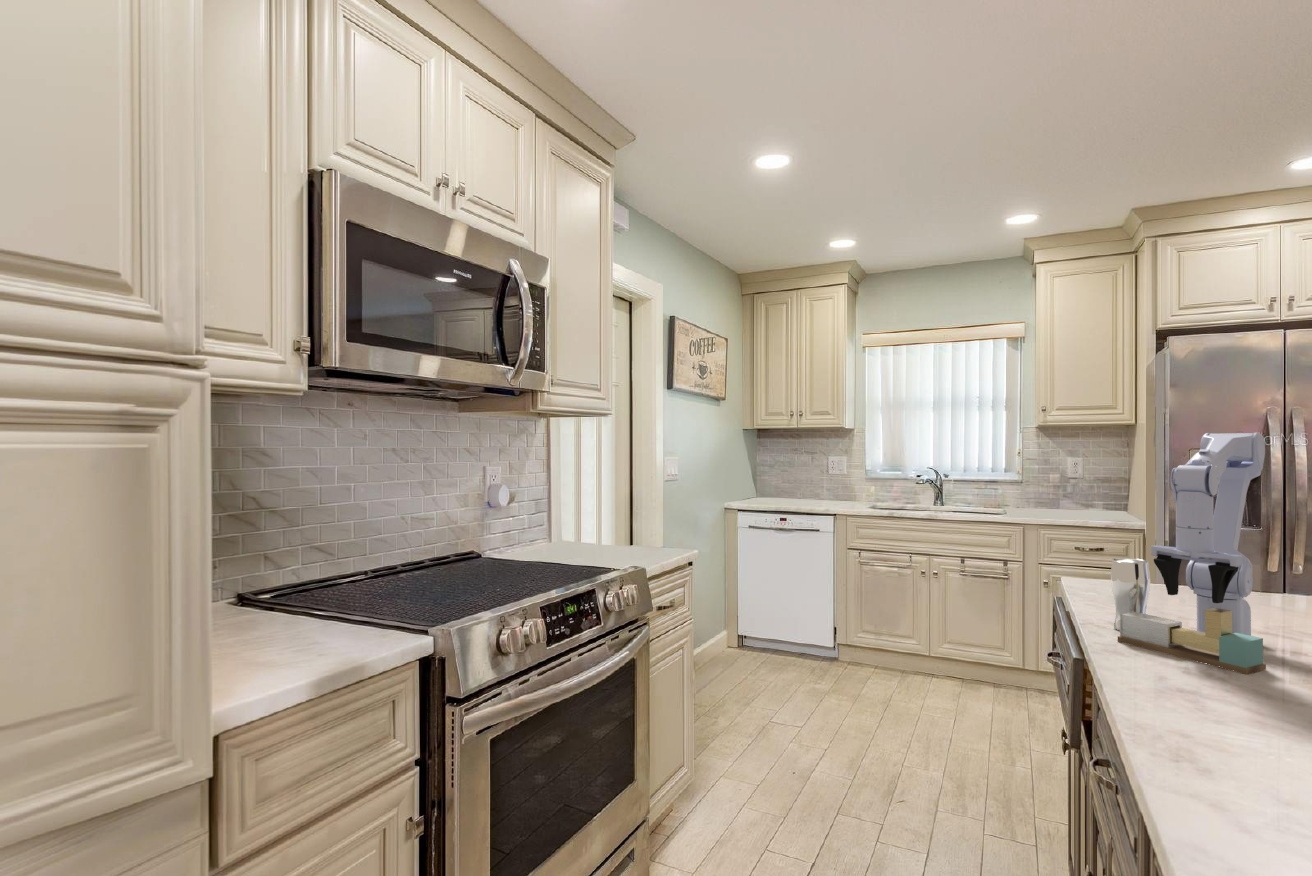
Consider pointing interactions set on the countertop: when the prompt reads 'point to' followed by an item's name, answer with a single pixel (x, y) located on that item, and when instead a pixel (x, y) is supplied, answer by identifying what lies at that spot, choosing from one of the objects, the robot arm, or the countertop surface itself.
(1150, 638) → the white rectangular block
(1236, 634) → the teal rectangular block
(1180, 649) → the board
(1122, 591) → the beer glass
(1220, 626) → the wooden l-shaped block
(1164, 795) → the countertop surface
